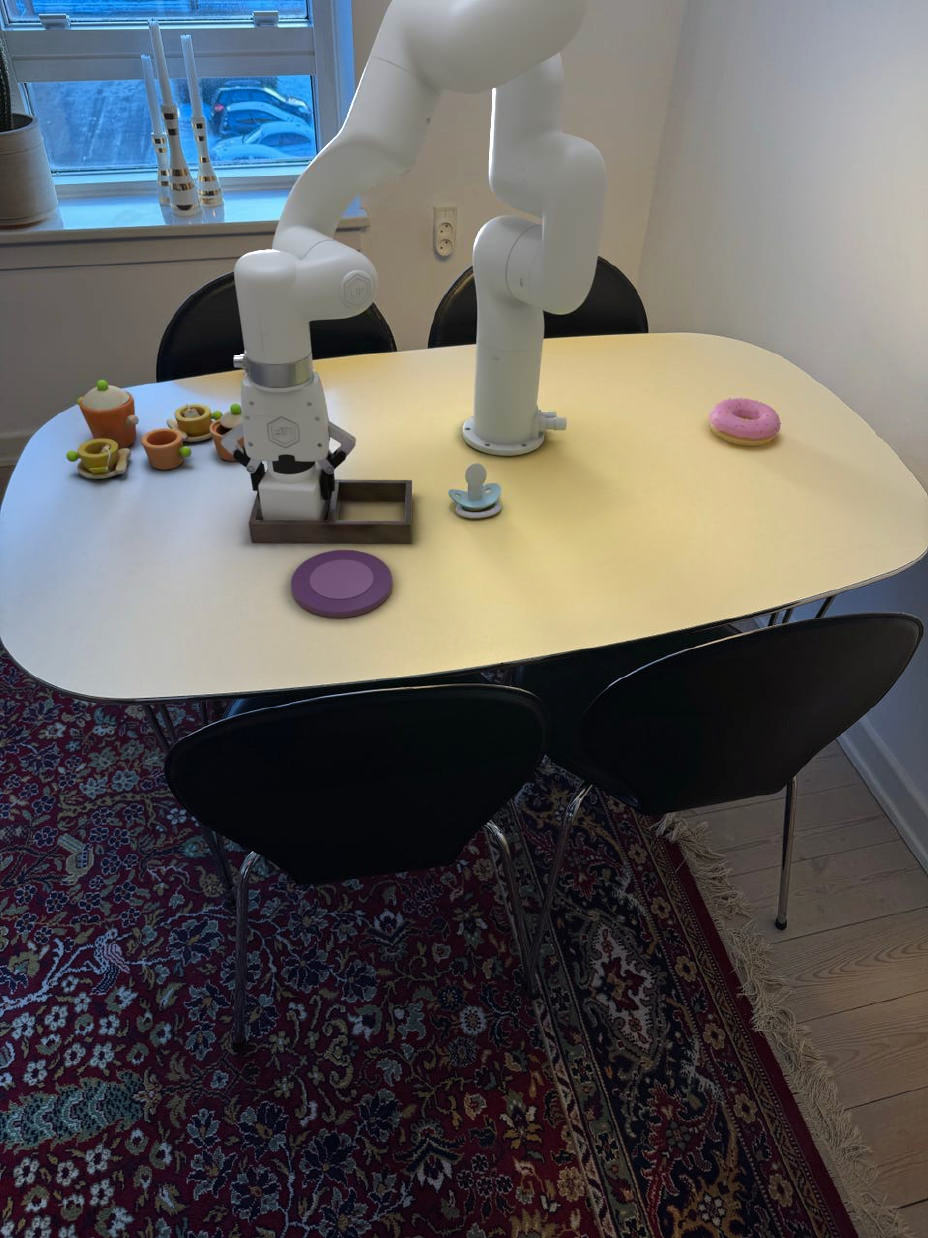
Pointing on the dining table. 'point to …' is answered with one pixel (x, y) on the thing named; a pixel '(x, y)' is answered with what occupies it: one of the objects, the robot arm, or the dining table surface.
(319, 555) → the lid
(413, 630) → the dining table surface
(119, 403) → the toy tea set
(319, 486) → the medicine bottle
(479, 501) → the pacifier
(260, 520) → the frame
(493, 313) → the robot arm
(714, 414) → the doughnut
